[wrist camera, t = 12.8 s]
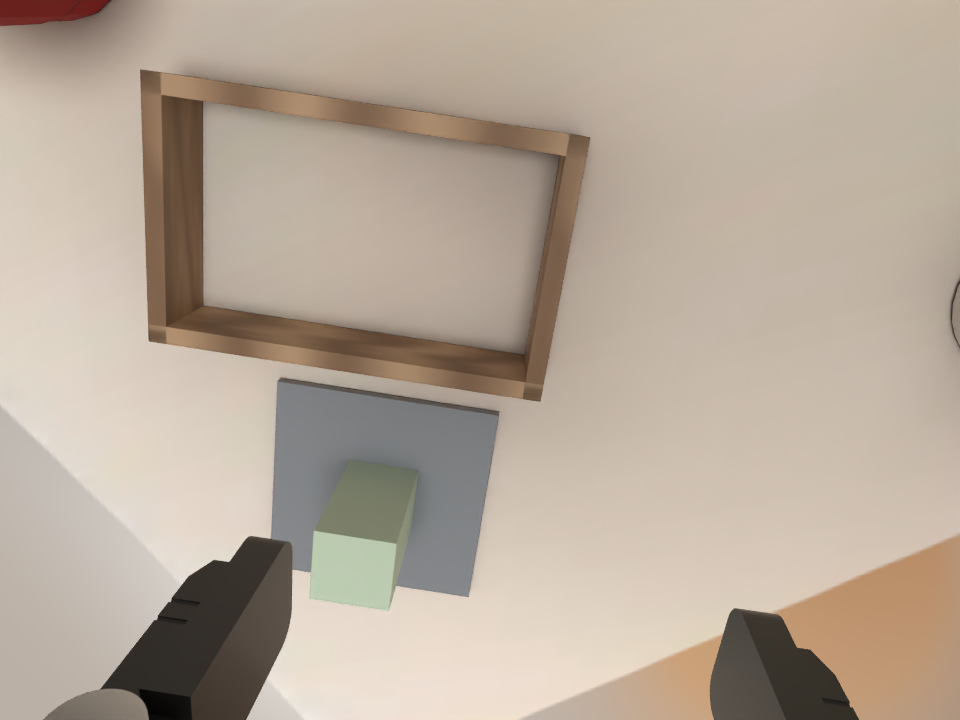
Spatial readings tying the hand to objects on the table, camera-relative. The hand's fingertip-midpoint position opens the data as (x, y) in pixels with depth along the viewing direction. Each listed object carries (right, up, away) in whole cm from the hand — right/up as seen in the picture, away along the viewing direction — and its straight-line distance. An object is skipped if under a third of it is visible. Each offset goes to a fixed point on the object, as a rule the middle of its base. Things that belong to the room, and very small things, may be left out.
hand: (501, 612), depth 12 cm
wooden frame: (-7, +12, +27) cm, 30 cm away
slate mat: (-7, -4, +32) cm, 33 cm away
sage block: (-7, -4, +32) cm, 33 cm away
